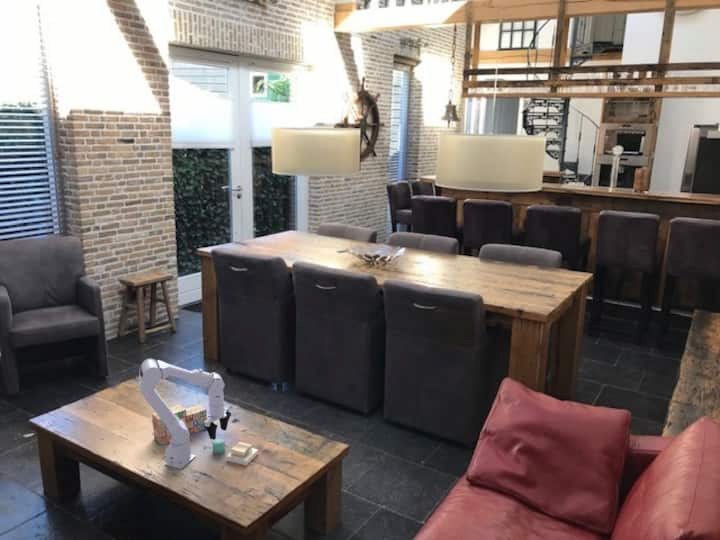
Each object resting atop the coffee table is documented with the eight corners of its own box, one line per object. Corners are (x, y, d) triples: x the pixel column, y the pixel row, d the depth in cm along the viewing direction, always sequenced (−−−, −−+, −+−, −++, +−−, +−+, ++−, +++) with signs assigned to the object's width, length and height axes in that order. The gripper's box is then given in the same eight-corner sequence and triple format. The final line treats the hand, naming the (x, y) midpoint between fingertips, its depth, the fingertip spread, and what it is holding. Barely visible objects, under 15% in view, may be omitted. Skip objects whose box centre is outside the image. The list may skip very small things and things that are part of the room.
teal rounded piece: (220, 455, 239) (220, 446, 238) (210, 453, 241) (209, 444, 240) (227, 449, 243) (227, 440, 242) (217, 446, 245) (217, 438, 244)
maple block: (243, 458, 234) (243, 452, 233) (230, 454, 236) (230, 449, 236) (252, 450, 239) (252, 444, 239) (239, 447, 242) (239, 441, 241)
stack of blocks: (201, 423, 264) (199, 397, 260) (207, 428, 259) (206, 403, 256) (153, 439, 250) (151, 412, 247) (159, 445, 246) (157, 418, 243)
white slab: (246, 466, 233) (246, 461, 232) (226, 461, 236) (226, 456, 235) (258, 454, 241) (258, 449, 240) (239, 450, 244) (238, 444, 243)
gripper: (214, 413, 229) (216, 445, 232) (235, 397, 242) (236, 427, 245) (198, 410, 231) (201, 441, 235) (220, 394, 244) (222, 424, 248)
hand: (218, 434), depth 240 cm, fingers open, 7 cm apart
